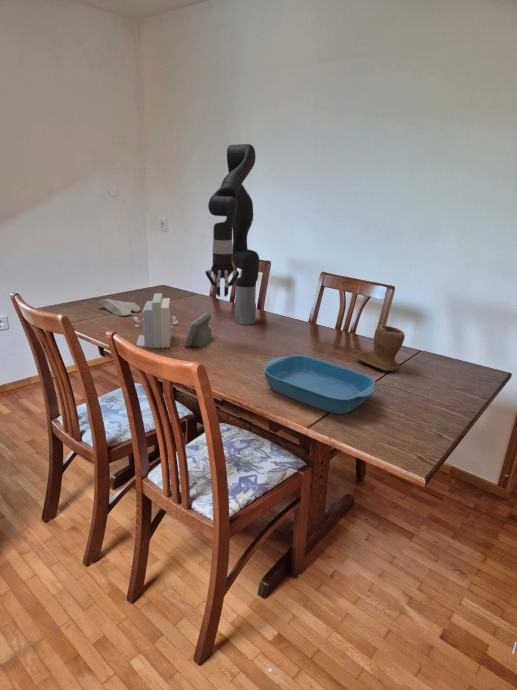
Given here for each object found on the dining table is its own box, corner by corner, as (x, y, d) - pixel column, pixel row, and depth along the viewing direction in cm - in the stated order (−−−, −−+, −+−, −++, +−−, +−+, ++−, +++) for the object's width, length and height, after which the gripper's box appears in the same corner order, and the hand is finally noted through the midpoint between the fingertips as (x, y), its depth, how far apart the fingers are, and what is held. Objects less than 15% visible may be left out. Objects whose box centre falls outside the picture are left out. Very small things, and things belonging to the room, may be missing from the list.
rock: (123, 304, 229) (96, 306, 218) (124, 295, 227) (96, 297, 217) (147, 316, 216) (119, 319, 205) (147, 307, 215) (119, 310, 204)
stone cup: (406, 368, 164) (413, 329, 158) (386, 375, 157) (392, 335, 152) (373, 355, 175) (378, 318, 170) (353, 361, 168) (357, 323, 163)
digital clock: (201, 334, 189) (200, 310, 186) (219, 338, 186) (219, 314, 182) (177, 345, 176) (176, 320, 172) (195, 350, 172) (195, 324, 168)
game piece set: (124, 328, 194) (124, 319, 193) (149, 315, 212) (149, 308, 211) (164, 334, 189) (163, 325, 187) (186, 321, 207) (186, 313, 205)
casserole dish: (249, 387, 145) (250, 366, 142) (290, 367, 161) (291, 348, 158) (350, 428, 123) (353, 405, 121) (386, 401, 139) (389, 380, 137)
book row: (171, 335, 187) (169, 293, 180) (169, 347, 174) (168, 302, 167) (139, 335, 185) (137, 293, 178) (135, 348, 172) (133, 302, 165)
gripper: (239, 250, 174) (238, 293, 180) (204, 249, 172) (204, 293, 178) (241, 253, 167) (240, 298, 173) (204, 252, 165) (204, 298, 171)
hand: (222, 296), depth 176 cm, fingers closed
